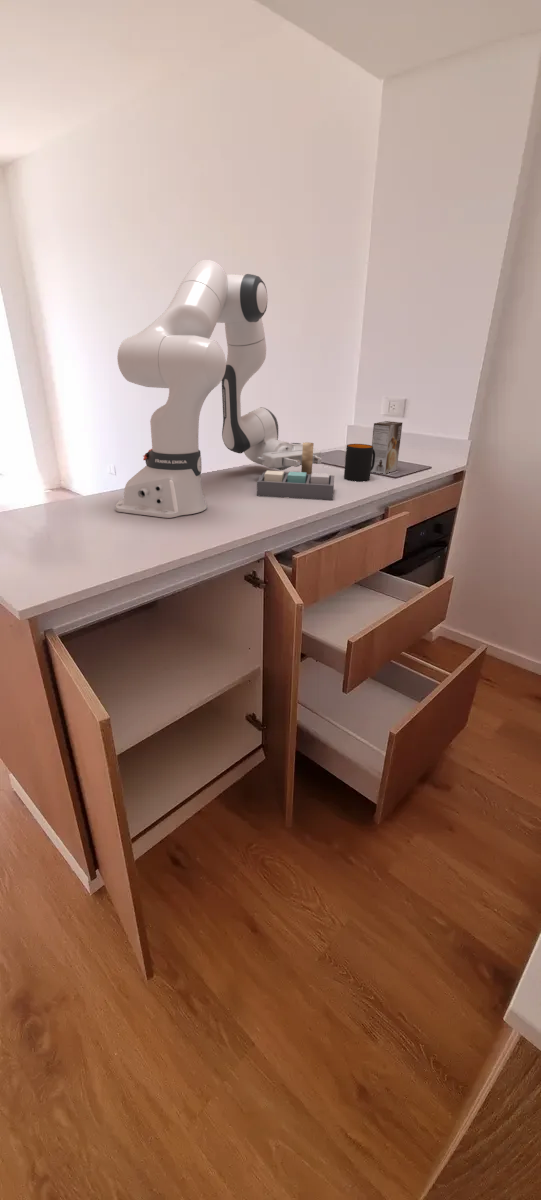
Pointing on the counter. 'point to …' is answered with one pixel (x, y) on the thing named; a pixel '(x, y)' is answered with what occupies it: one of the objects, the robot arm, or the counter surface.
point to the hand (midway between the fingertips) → (309, 462)
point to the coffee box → (386, 446)
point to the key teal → (297, 477)
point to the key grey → (319, 478)
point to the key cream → (274, 476)
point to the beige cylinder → (307, 457)
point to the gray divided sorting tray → (295, 488)
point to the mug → (359, 462)
